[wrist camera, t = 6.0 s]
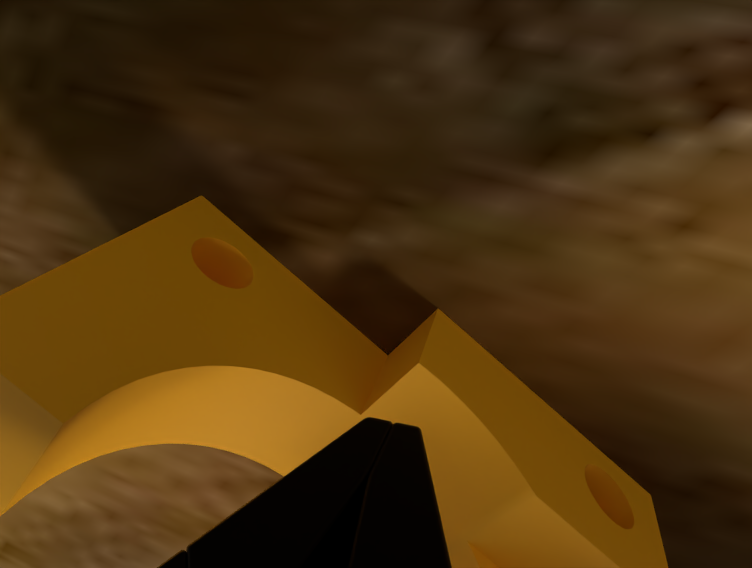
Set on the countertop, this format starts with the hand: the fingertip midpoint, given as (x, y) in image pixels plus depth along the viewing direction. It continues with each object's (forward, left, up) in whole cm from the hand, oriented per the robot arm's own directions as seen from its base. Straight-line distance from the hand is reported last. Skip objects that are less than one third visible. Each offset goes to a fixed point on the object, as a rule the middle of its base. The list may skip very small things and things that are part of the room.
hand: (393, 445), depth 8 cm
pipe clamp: (-2, +1, -5) cm, 5 cm away
